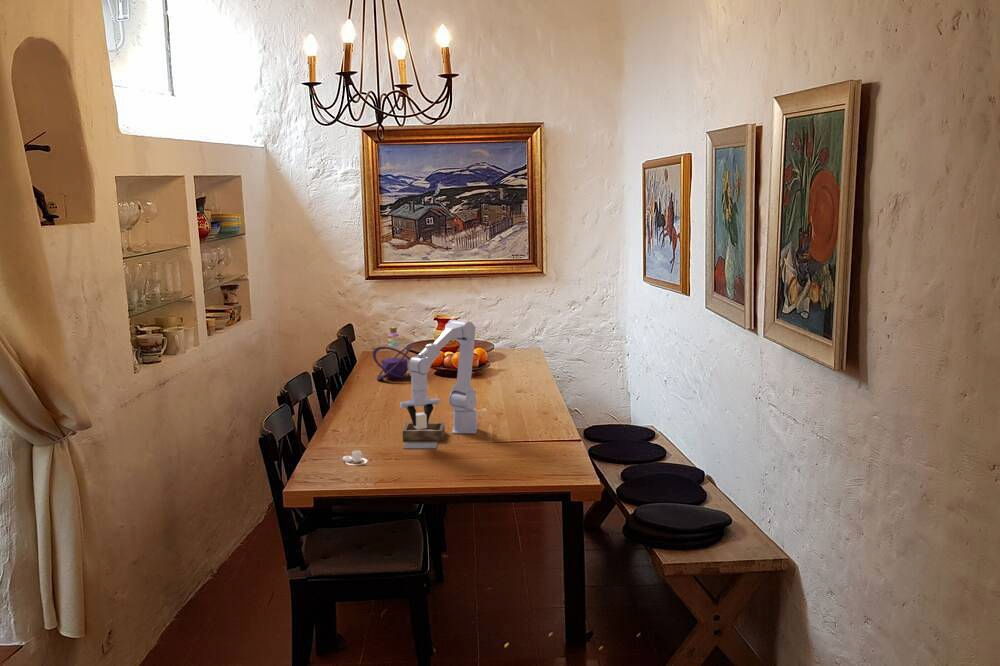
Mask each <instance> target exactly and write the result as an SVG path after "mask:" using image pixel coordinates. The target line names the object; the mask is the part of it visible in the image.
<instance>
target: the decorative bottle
mask: <svg viewBox="0 0 1000 666" xmlns="http://www.w3.org/2000/svg"><path fill="white" fill-rule="evenodd" d="M397 330H398V328H397V326H391V327H389V331H390V333H389V334H387V336H388V337H391V338H388V339H387V340H388V342H390V343H388V346H378V347H376V348H375V349H373V351H372V358H373V360H374V362H375V363H376V365H377V366H378V367H379V368H380V369H382V370H381V371H380V372H379V374H378V376H377V378H376V380H377V381H379V380H381V379H383V378H384V377H385V376H386V377H387V378H388V379H391V380H398V379H411V375H410V374H409V375H405V374H406V373H407V372H409V370H408V367H407V365H408V363H409V362H408V361H409V360H410V359H411V358H410V357H409V356H408V353H409V352H410V350H411V348H413V347H412V344H409V345H407V346H406V347H404V348H403V349H402V350H399V349H397V348H396V347H399V346H400V343H399V341H400V340H399V338H398V337H399V333H398V332H397ZM394 347H395V348H394ZM380 350H391V351H394V352H396V353H397V354H396V355H395V356H393V357H388V358H385V359H382V360H380V361H381V364H380V362H379V361H378V359H377V353H378V352H379V351H380ZM405 350H406V352H405V353H404V351H405ZM400 354H401V355H403V356H402V357H398V356H400ZM383 373H384V374H383Z"/></svg>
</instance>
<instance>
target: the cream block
mask: <svg viewBox="0 0 1000 666" xmlns="http://www.w3.org/2000/svg"><path fill="white" fill-rule="evenodd" d="M414 427H415V428H416V429H423V428H427V415H426V414H425V413H424V411H423V412H416V426H414Z"/></svg>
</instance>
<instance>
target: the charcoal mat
mask: <svg viewBox="0 0 1000 666" xmlns="http://www.w3.org/2000/svg"><path fill="white" fill-rule="evenodd" d="M438 443H439V441H405V443H404V446H403V450H436V449H437V446H438Z"/></svg>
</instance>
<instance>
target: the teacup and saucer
mask: <svg viewBox="0 0 1000 666" xmlns="http://www.w3.org/2000/svg"><path fill="white" fill-rule="evenodd" d="M342 460H343V462H344V463H345V464H346V465H349V466H362V465H365V464H367V463H368V461H369V460H368V459H367V458H365V457H364V454H363V453H362V451H361V450H356V449H355V450H353V451H351V455H345V456H343V457H342ZM362 460H363V461H364V462H362V463H361V461H362ZM347 462H348V463H347ZM351 462H353V463H355V464H353V463H351ZM356 463H358V464H356Z"/></svg>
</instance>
